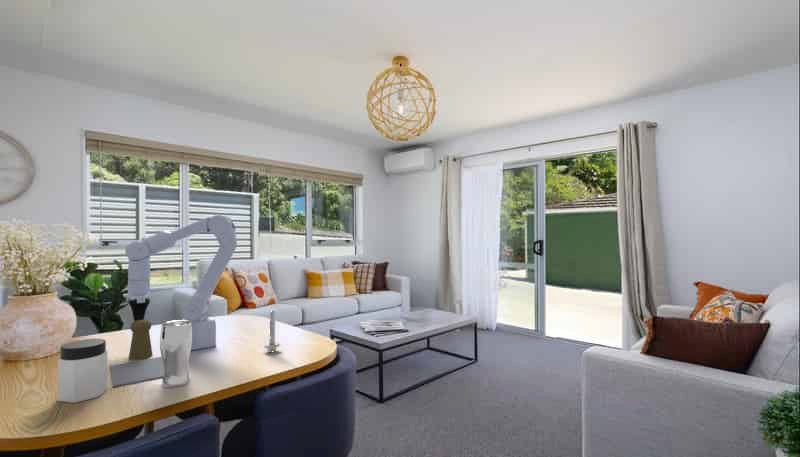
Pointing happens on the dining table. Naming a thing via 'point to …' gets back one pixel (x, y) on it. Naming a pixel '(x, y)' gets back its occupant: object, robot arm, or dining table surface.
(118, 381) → the mat
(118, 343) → the dining table surface
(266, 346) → the screw
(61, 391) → the jar
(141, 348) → the cork
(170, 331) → the beer glass
